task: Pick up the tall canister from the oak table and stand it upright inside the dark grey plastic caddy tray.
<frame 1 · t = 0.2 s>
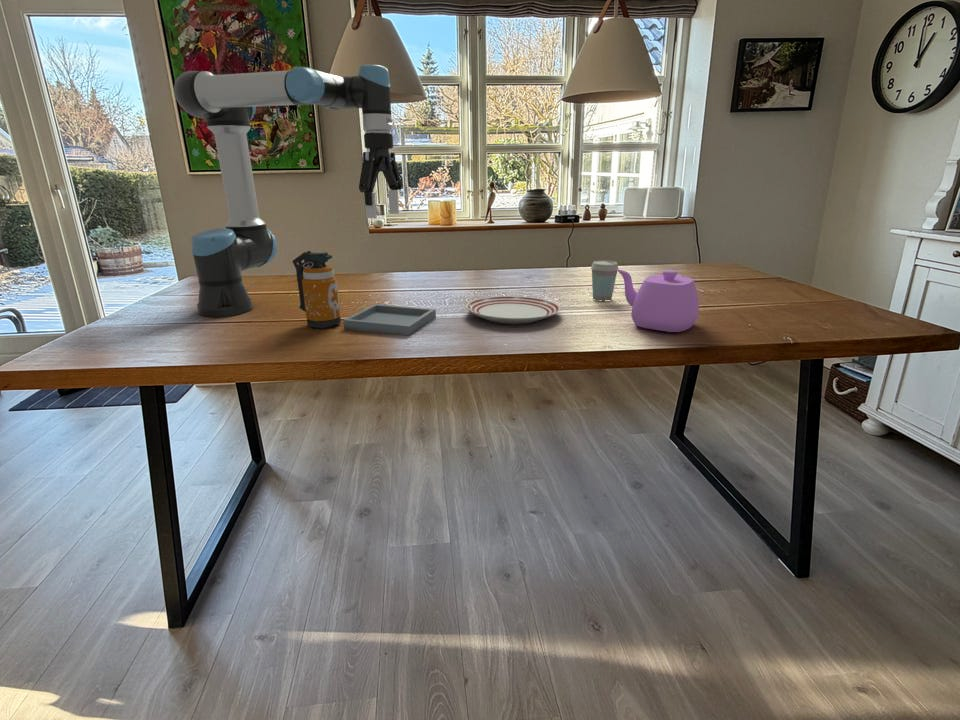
hand: (383, 215, 145), 28 cm above the table, tool pointing down, fingers open, 13 cm apart
teapot: (660, 326, 142), on the table
canister: (321, 325, 144), on the table
dinner plate: (512, 316, 152), on the table
coffee cup: (602, 300, 168), on the table
caddy tray: (391, 323, 145), on the table
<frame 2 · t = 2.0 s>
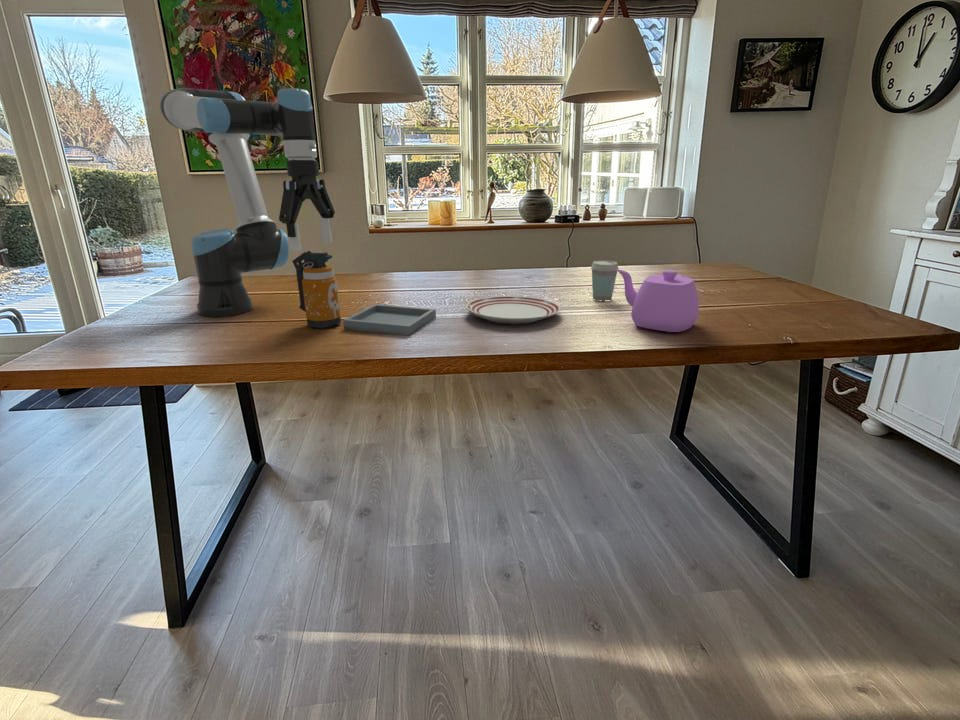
hand: (312, 246, 136), 21 cm above the table, tool pointing down, fingers open, 13 cm apart
nothing on the table moved.
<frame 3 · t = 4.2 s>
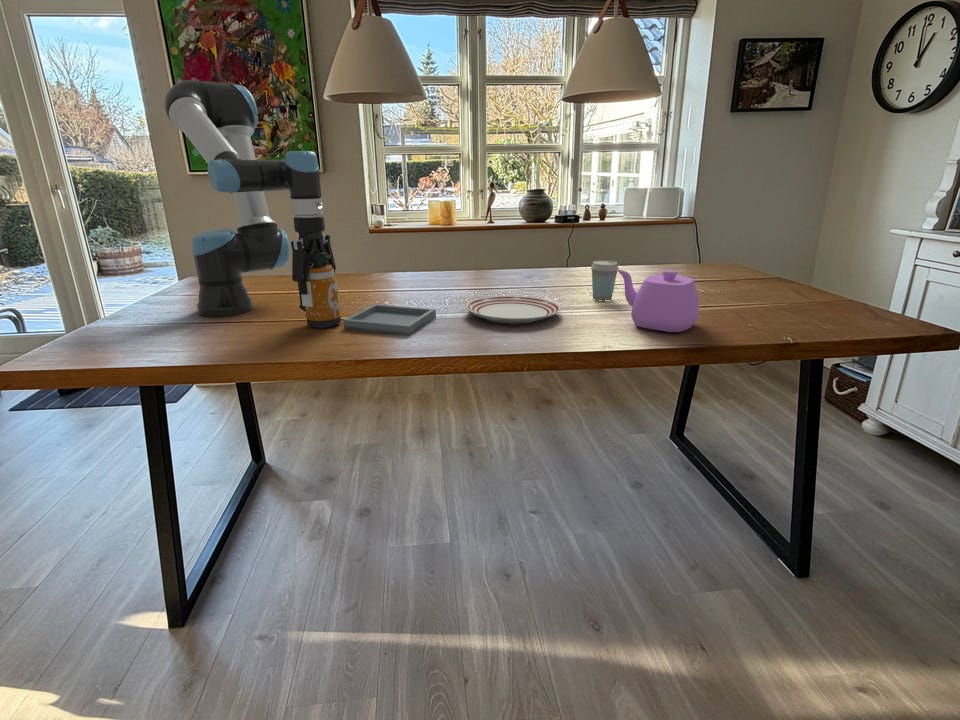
hand: (318, 301, 142), 6 cm above the table, tool pointing down, fingers closed on canister, 9 cm apart
canister: (321, 325, 144), on the table, touching gripper
everything else where it was.
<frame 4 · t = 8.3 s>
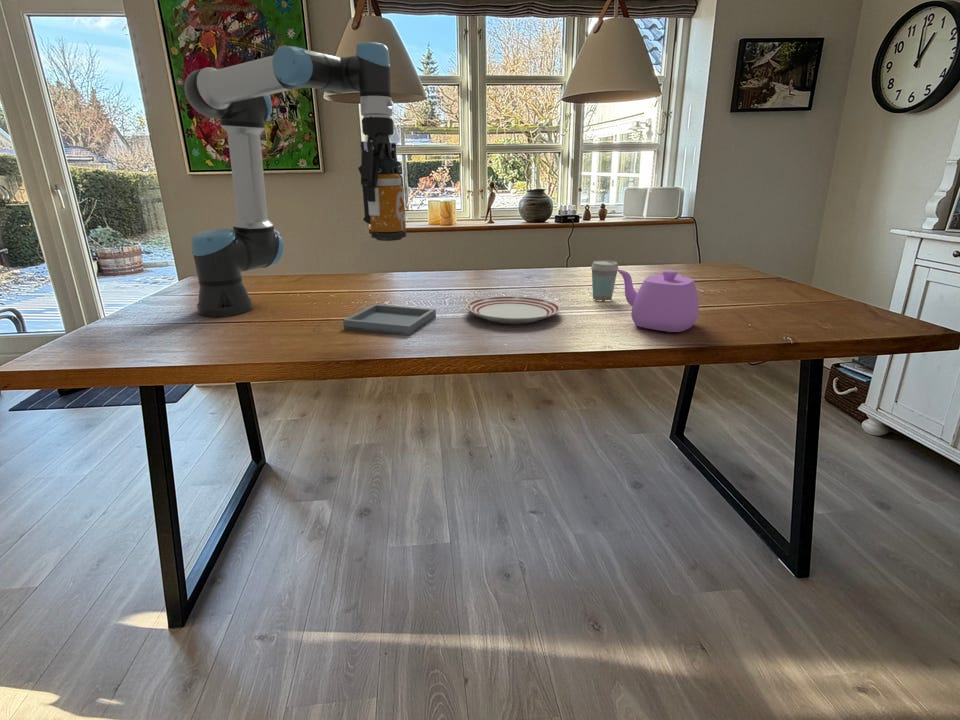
hand: (383, 213, 134), 29 cm above the table, tool pointing down, fingers closed on canister, 9 cm apart
canister: (385, 239, 137), point 23 cm above the table, touching gripper
everything else where it was.
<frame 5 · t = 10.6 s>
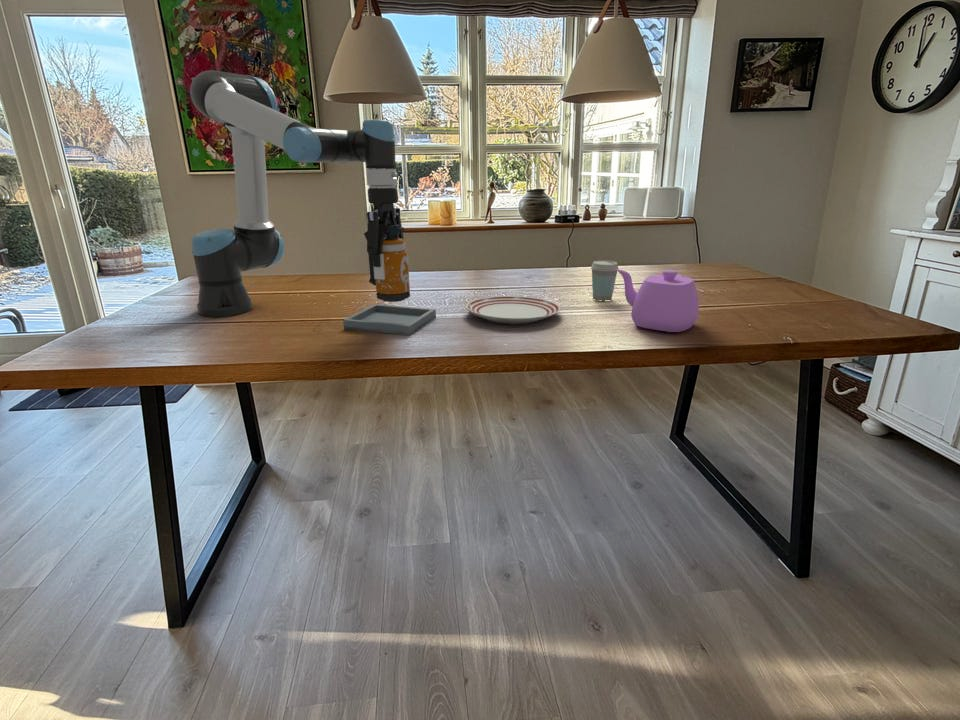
hand: (388, 275, 140), 13 cm above the table, tool pointing down, fingers closed on canister, 9 cm apart
canister: (390, 299, 142), point 7 cm above the table, touching gripper
everything else where it was.
when the fingers open (9 cm above the table, at t = 12.4 s): canister drops 2 cm, resting on caddy tray.
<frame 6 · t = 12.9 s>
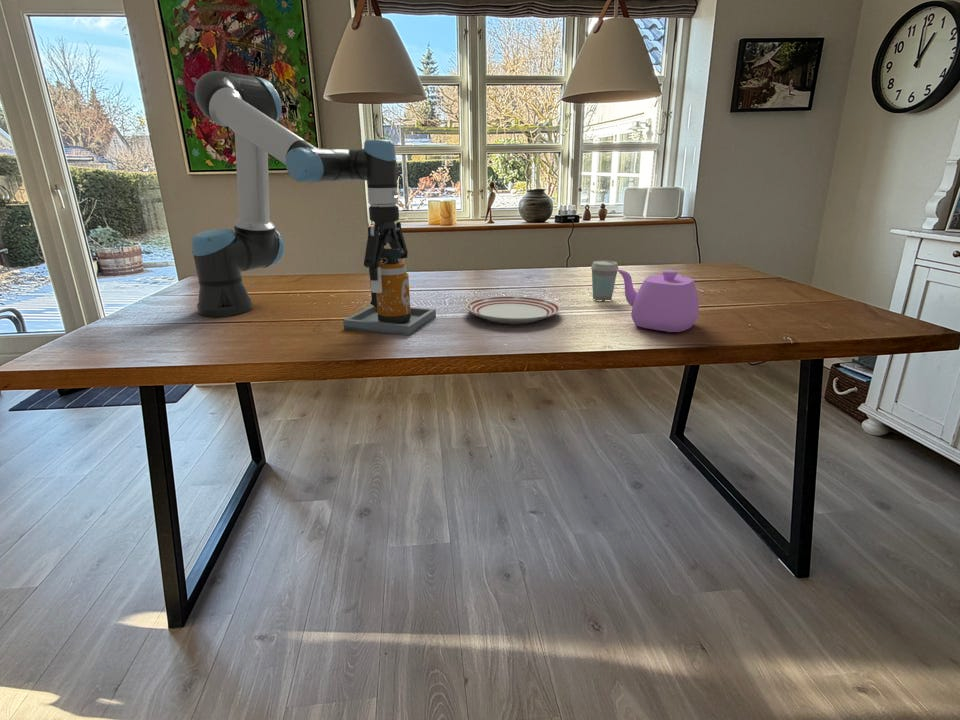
hand: (389, 286, 141), 10 cm above the table, tool pointing down, fingers open, 13 cm apart
canister: (391, 321, 144), point 1 cm above the table, touching caddy tray
everything else where it was.
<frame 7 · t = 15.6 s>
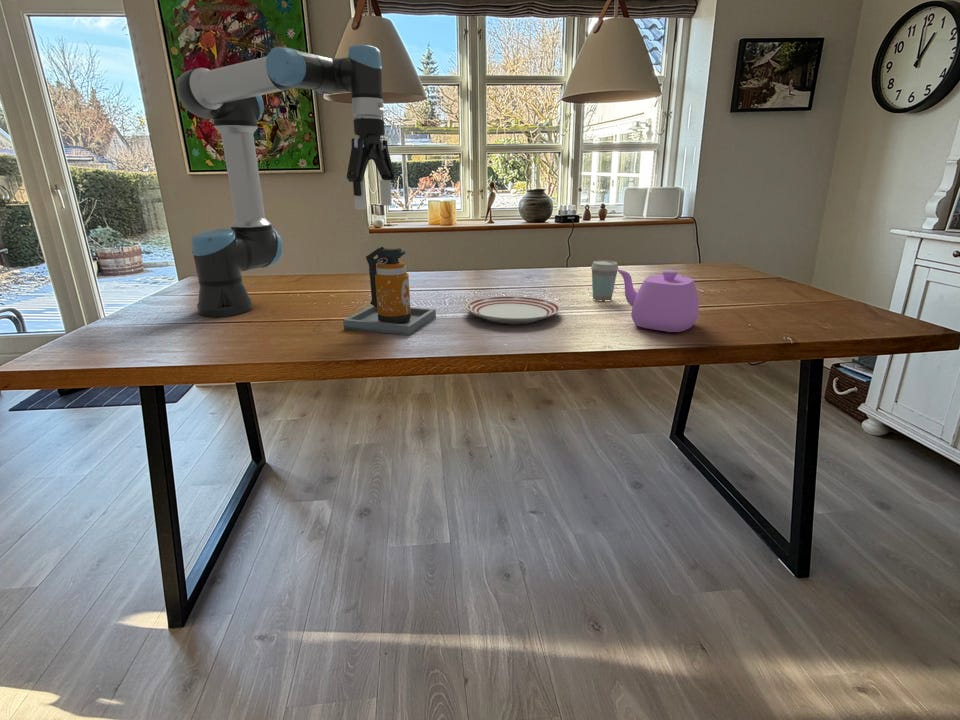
hand: (374, 207, 137), 31 cm above the table, tool pointing down, fingers open, 13 cm apart
nothing on the table moved.
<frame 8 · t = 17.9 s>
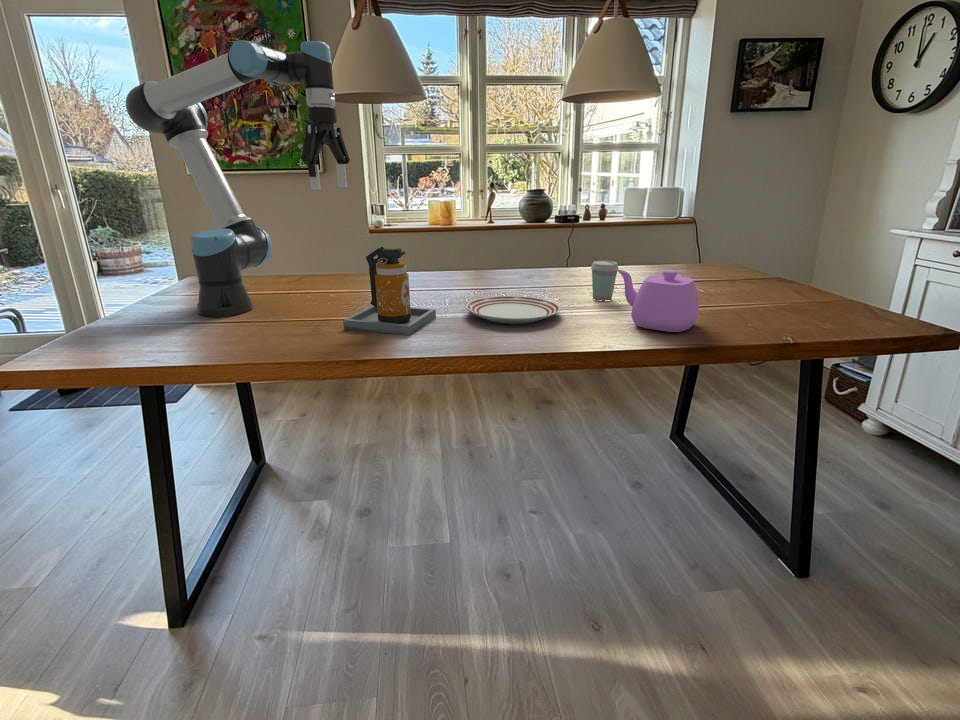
hand: (329, 188, 151), 35 cm above the table, tool pointing down, fingers open, 13 cm apart
nothing on the table moved.
at the end: canister inside the target area on the caddy tray (0.1 cm from its centre), point 0.6 cm above the caddy tray's base; canister tilted 0°; the gripper is holding nothing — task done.
